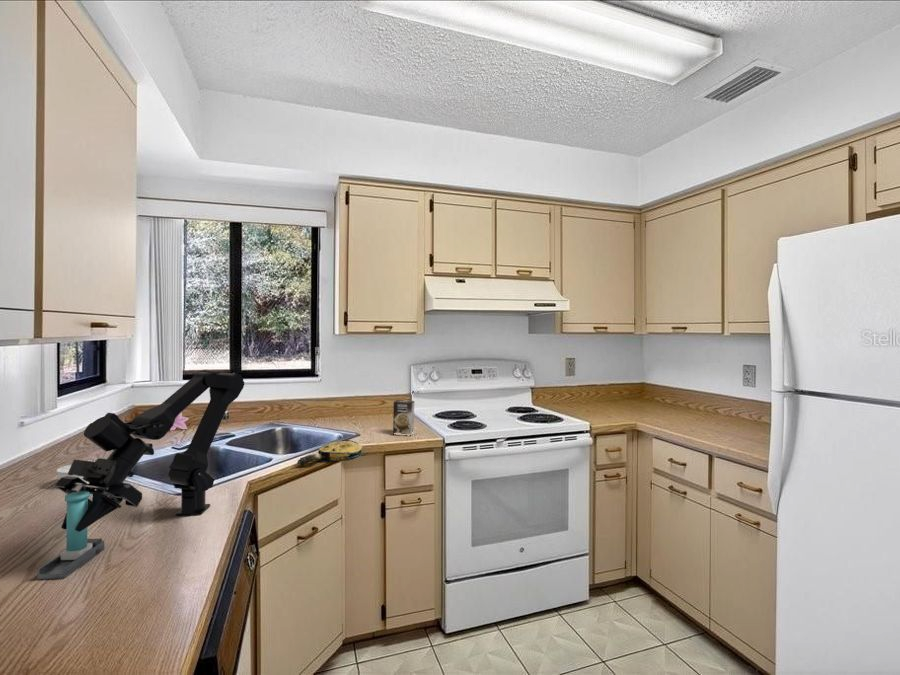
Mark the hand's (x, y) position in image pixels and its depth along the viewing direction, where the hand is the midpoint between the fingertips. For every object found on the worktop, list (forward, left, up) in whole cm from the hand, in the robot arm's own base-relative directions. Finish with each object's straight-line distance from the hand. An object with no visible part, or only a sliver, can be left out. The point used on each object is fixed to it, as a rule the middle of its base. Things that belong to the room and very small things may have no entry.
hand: (70, 529), depth 95 cm
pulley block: (-78, +42, -8) cm, 88 cm away
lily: (-134, -41, -7) cm, 140 cm away
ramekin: (-54, -32, -7) cm, 63 cm away
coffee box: (-119, +70, -7) cm, 138 cm away
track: (0, +1, -7) cm, 7 cm away
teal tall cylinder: (-1, +1, -6) cm, 6 cm away
